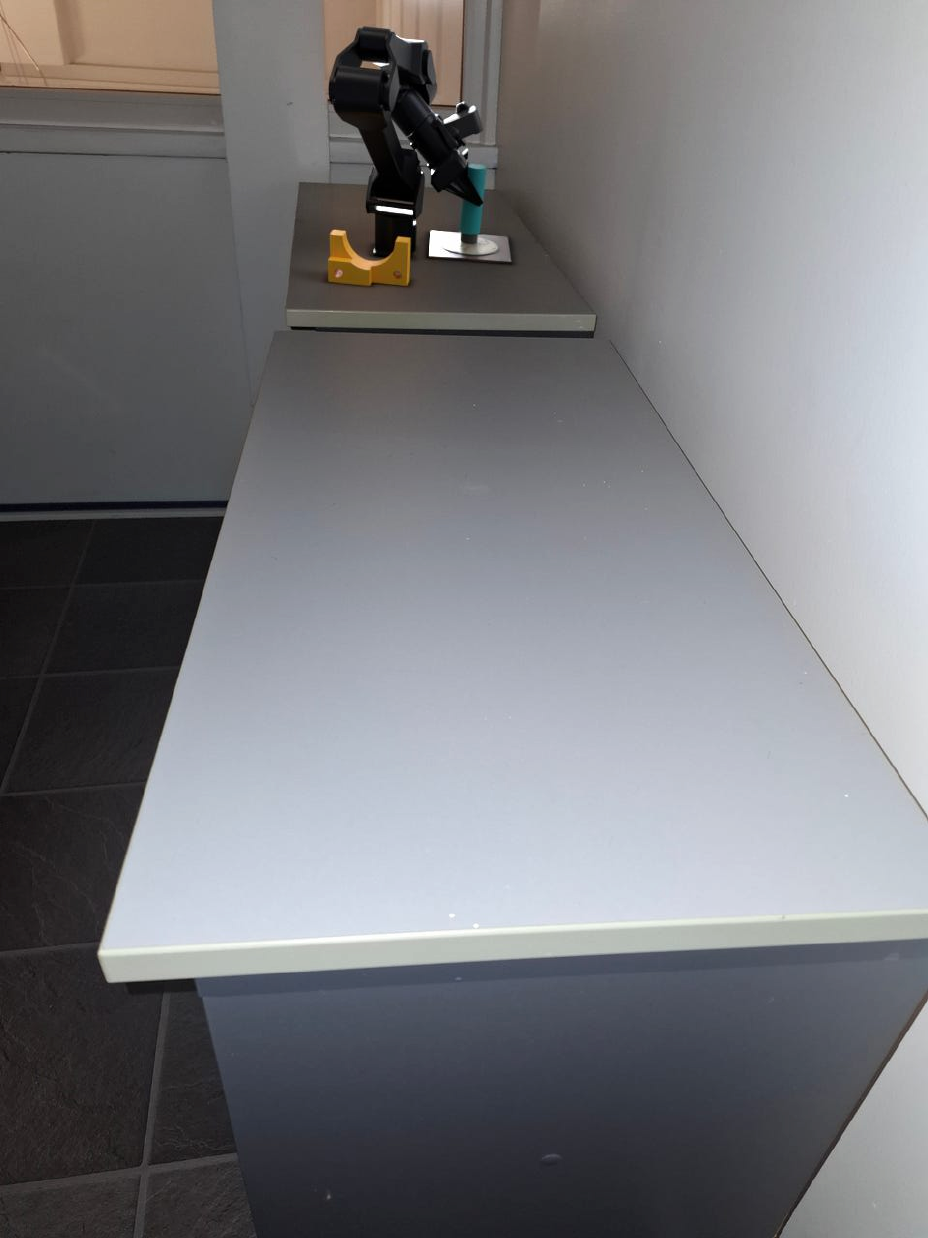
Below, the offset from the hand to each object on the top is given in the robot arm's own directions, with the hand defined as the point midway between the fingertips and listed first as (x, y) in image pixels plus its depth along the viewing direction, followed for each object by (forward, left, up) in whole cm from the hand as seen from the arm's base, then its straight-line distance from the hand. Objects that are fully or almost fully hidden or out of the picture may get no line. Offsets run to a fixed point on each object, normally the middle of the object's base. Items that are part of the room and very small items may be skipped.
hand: (481, 201), depth 147 cm
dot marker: (-2, 0, -7) cm, 7 cm away
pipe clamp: (-17, -22, -7) cm, 29 cm away
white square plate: (-1, -2, -7) cm, 8 cm away
